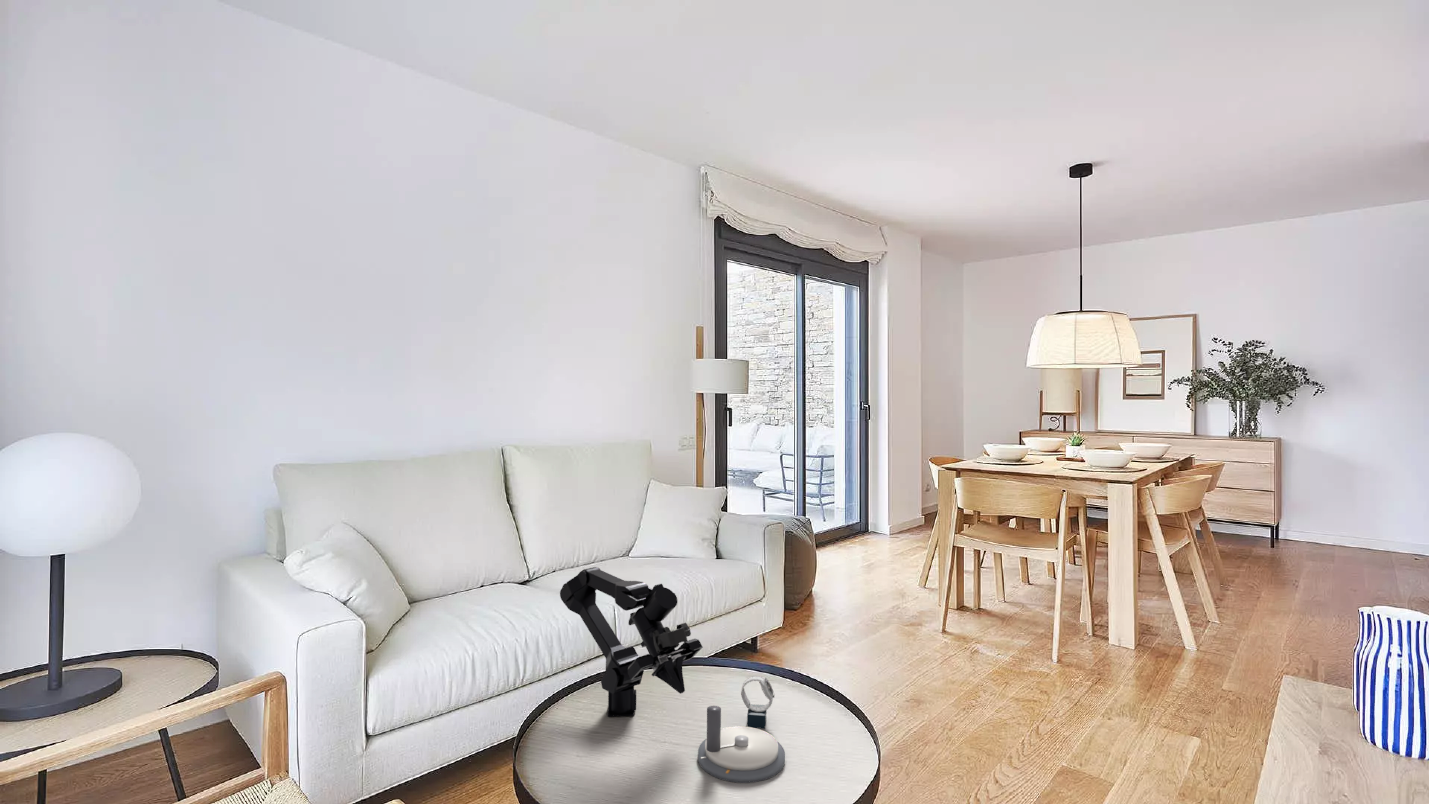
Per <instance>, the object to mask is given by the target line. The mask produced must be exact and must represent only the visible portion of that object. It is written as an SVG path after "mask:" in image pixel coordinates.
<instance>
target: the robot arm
mask: <svg viewBox="0 0 1429 804" xmlns="http://www.w3.org/2000/svg"><path fill="white" fill-rule="evenodd" d="M596 591H599V592H601V593H603V594H606V595H607V596H609V597H612V598H613V599H614V603H615V604H616V605H617V606H618V607H620V609H622V610H623V611H631V610H635V609H637V610H636V611H635V612H631V613H630V615H629V619H628V625H629V626H632V625H635V627H636V630H637V632H638V634H639V635H640V637H641V640H642V641H641V643H640V645H641V648H646V651H647V652H648V653H647V654H644V655H641V656H640V655H639V654H638V653H637V651H636V649H635V648H636V647H635V648H634V646H632V645H631V646H627V647H625V646H623V644H622V643H621V641H620V640H619V638H618V636H617V635H616V633H615V632H614V630H613V629H612V627H611V625H610V623H609V622H608V621H607V619H606V617H605V616H604V615H603V613H602V611H601V609H600V608H599V607H598V605H597V603H596V601H597V592H596ZM559 597H560V599H561V601H562V602H563V604H564V605H565V606H566V608H567V609H568V610H569V611H571V612H573V613H575V614H577V615H579V616H580V618H581V620H582V621H583V623H584V624H585V627H586V628H587V630H588V631H589V633H590V635H591V637H592V638H593V640H594V641H595V642H596V643H595V644H597V646H598V648H599V650H600V651H601V653H602V654H603V656H604V658H605V672H606V673H605V675H603V677H602V678H601V679H600V682H601V688H602V689H603V690H605V691H606V692H607V693H608V701H607V702H608V703H607V704H608V705H607V713H606V714H607V717H609V718H610V717H611V718H612V717H632V716H635V711H637V689H636V688H635V686H637V685H641V682H642V679H643V674H644V671H645V670H648V669H651V668H652V670H653V672H652V673H651V676H652V677H657V678H658V679H660V681H662V682H664V683H666V684H667V685H669V687H671V688H672V689H673V690H674V691H676V692H677V693H679V695H680V694H683V693H685V691H686V690H685V681H684V675H683V663H684V662H686V661H689V660H691V659H693V658H694V657H695V656H696V655H697V654H698V653H699V652H700V650H702V649H703V648H704V647H703V644H702V643H701V641H700V640H699V639H697V638H692V639H689V640H688V637H691V635H692V632H691V629H690V626H689V625H688V623H687V622H682V623H680V624H677V625H676V629H674V630H672V631H671V629H670V628H669V626H664V624H663V623H662V621H664V620H665V619H666V618H667V617H668V615H670V613H671V612H672V611H673V610H674V609H675V608H676V606H677V605H678V597H677V595H676V593H675V592H673V591H672V589H669V588H667V587H665V586H664V584H663V583H658V584H655V585H654V586H653V587H652V588H651V587H649V585H648V584H647V583H646V582H644V581H639V580H625V579H622V578H619V577H618V576H615V575H613V574H611V573H609V572H605V570H601V568H599V567H596V566H592V567H589V568H584V569H582V570H580V571H579V572H578V573H577V575H575V576H574V577H573V578H571V579H569V580H568V581H566V583H564V584H563V585H562V588H561V589H560V591H559ZM680 643H682V644H681V645H680ZM676 648H677V649H676Z"/></svg>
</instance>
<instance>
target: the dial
mask: <svg viewBox="0 0 1429 804" xmlns="http://www.w3.org/2000/svg"><path fill="white" fill-rule="evenodd" d="M721 720H722V708H721V707H720V706H718V705H709V706H707V708H706V738H705V739H706V741H705V754H706V756H707V757H708V759H709V760H710V761H711V762H713V763H714V764H716V765H718V766H721V767H723V768H726V769H731V770H739V771H748V770H756V769H761V768H764V767H766V766H768V765H770V764H772V763H773V762H774V761H775V760H776V758H777V756H778V742H779V741H778V742H777V739H776V738H775V737H774V735H772V734H771V733H769V732H767V731H765V730H763V729H761V728H752V727H747V726H744V725H743V726H741V725H740V726H738V725H737V726H735V725H734V726H728V727H727V726H726V727H723V728H722V721H721Z"/></svg>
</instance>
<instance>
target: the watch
mask: <svg viewBox="0 0 1429 804" xmlns="http://www.w3.org/2000/svg"><path fill="white" fill-rule="evenodd" d="M751 682H759V685H760V687H761V691H762V692H763V695H764V696H765V698H766V699H768V700H769V702H767V703H766V704H756V703H755V704H753V703H751V701H750V700H749V698H748V696H747V694H746V691H745V687H746V685H747V684H749V683H751ZM740 695H741V700H742V702H743V703H744V705H745V707H746V708H747V716H746V719H747V720H746V721H747V722H746V723H747V724H746V727H752V728H757V729H766V726H767V712H768V711H767V710H768V709H769V708H771V706H772V704H773V700H774V698H775V692H774V689H773V686H772V684H771V682H770V681H769V679H768V678H766V677H763V676H760V675H752V676H749V677H747V678H746V679H745V680H744V681H743V683H742V687H741V691H740Z"/></svg>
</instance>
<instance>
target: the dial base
mask: <svg viewBox="0 0 1429 804" xmlns="http://www.w3.org/2000/svg"><path fill="white" fill-rule="evenodd" d="M706 739H707V738H705V739H704V740H703V741H702V742H701V743H700V744H699V746H698V750H697V753H698V754H697V760H698V764H699V766H700V767H701V769H702V770H703V771H704V772H705V773H706V774H708V775H710V776H712V777H714V778H716V779H719V780H723V781H726V782H732V783H740V784H741V783H745V784H748V783H756V782H761V781H765V780H768V779H770V778H773V777H775V776H776V775H778V774H779V773H780V772H781V771H782V770H783V768H784V767H785V763H786V752H785V749H784V747H783V745H782V744H781V743H780V742H779V741H777V742H778V756H777V758H776V760H775V761H774V762H773V763H772V764H770V765H768V766H766V767H764V768H761V769H756V770H748V771H739V770H731V769H726V768H723V767H721V766H718V765H716V764H714V763H713V762H711V761H710V760H709V759H708V757H707V756H706V754H705V741H706Z"/></svg>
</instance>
